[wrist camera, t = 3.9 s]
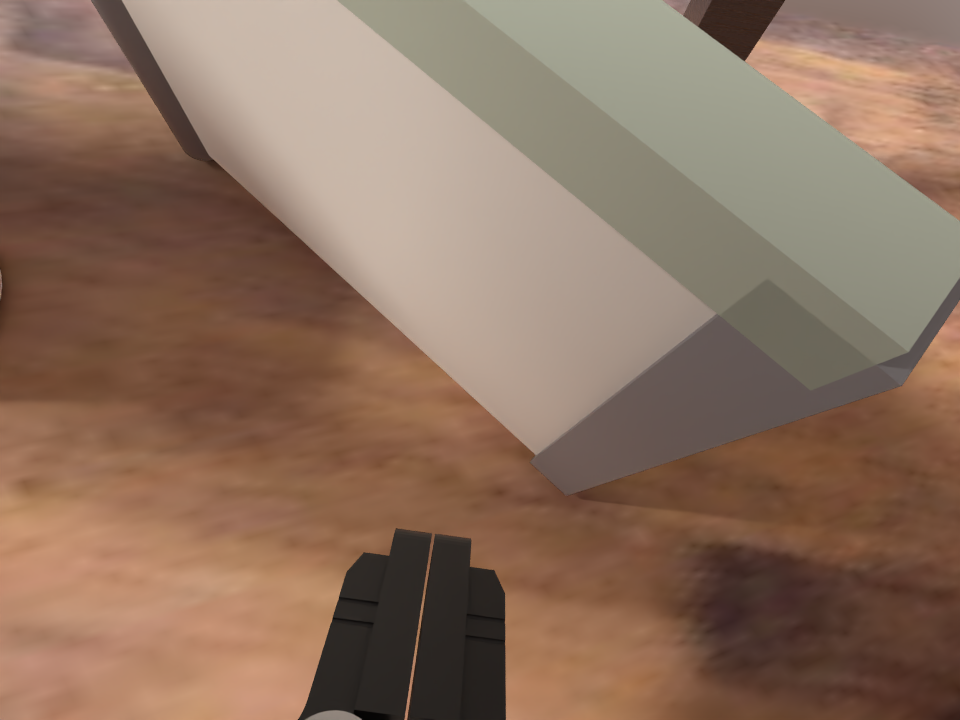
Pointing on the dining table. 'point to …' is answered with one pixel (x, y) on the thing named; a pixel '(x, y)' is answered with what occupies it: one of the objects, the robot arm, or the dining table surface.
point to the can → (0, 284)
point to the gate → (566, 209)
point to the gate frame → (733, 21)
